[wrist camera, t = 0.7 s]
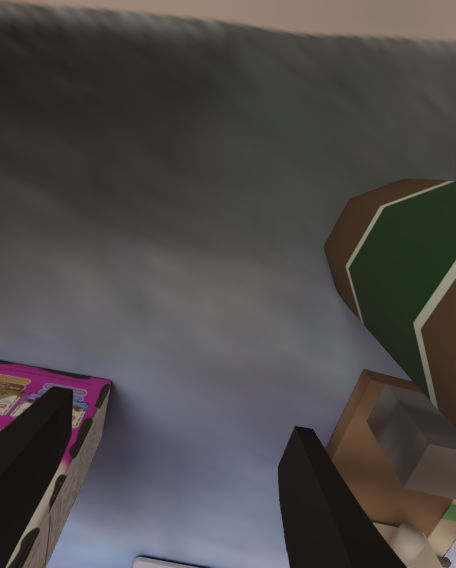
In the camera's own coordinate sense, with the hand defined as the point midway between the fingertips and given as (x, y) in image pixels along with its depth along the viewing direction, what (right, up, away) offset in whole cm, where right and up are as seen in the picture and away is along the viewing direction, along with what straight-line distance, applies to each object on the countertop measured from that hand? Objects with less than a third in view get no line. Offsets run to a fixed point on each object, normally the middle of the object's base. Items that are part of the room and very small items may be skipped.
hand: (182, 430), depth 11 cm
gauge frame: (+14, -10, +15) cm, 23 cm away
